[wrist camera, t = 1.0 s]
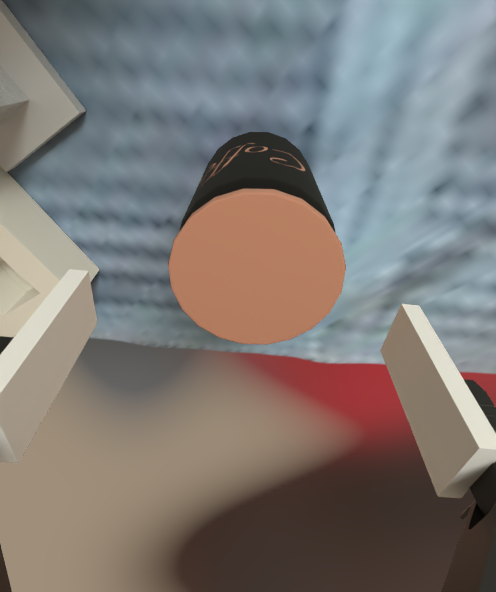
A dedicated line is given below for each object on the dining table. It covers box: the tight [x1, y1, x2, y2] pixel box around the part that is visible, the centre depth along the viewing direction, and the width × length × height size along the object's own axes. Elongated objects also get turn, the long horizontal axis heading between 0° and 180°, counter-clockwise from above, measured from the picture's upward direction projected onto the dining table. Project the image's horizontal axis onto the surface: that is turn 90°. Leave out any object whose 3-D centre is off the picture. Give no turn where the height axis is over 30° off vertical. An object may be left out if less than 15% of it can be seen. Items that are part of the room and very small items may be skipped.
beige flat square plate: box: [0, 0, 86, 172], centre depth 32 cm, size 10×10×2 cm
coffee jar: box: [168, 132, 346, 344], centre depth 29 cm, size 11×11×18 cm
